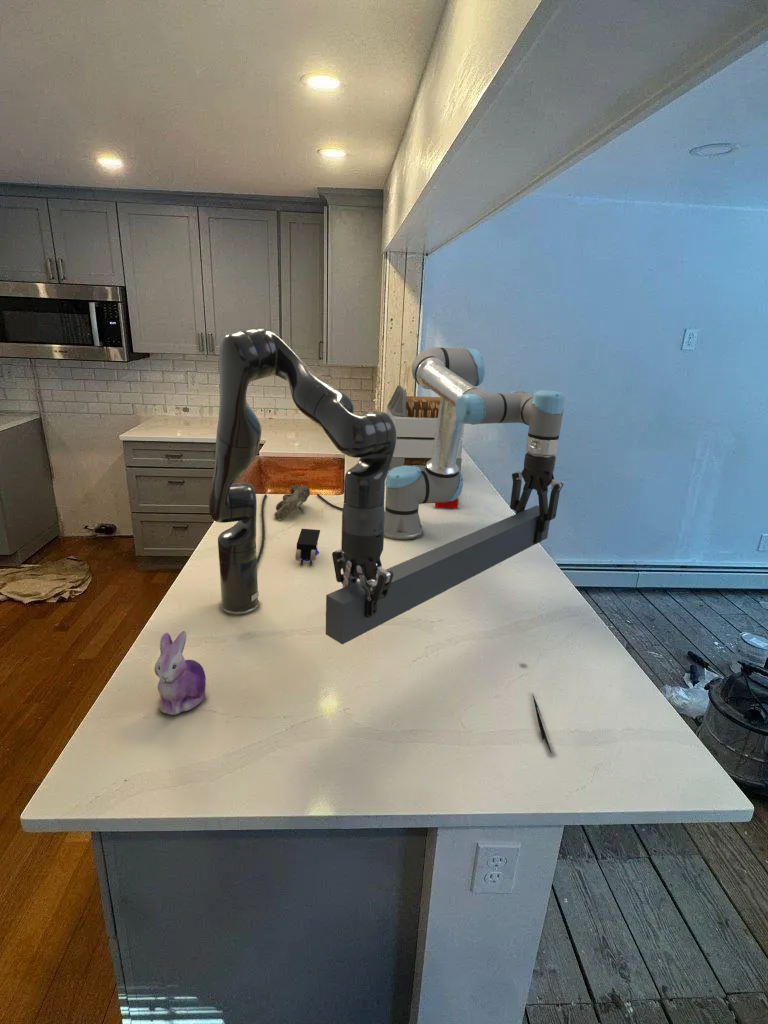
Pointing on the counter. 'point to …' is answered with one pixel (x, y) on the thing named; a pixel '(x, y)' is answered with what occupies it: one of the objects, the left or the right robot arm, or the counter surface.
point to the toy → (447, 504)
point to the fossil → (292, 501)
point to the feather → (541, 724)
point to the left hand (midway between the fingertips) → (360, 610)
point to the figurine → (178, 677)
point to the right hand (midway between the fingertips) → (528, 539)
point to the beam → (431, 574)
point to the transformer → (415, 428)
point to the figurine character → (307, 545)
